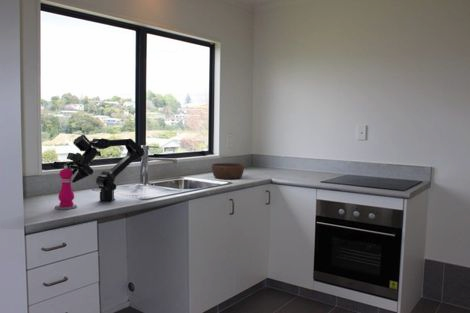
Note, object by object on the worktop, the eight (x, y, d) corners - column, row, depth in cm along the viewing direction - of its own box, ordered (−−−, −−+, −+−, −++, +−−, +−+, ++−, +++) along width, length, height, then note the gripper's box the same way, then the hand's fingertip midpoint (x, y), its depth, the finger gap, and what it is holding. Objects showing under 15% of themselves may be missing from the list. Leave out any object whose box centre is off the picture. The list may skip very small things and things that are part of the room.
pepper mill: (67, 203, 207) (66, 164, 205) (77, 205, 204) (77, 165, 202) (55, 206, 200) (54, 165, 199) (65, 208, 197) (65, 166, 195)
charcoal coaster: (80, 205, 207) (80, 204, 207) (71, 210, 197) (71, 208, 197) (61, 205, 207) (61, 203, 207) (50, 209, 197) (50, 207, 197)
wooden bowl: (206, 176, 322) (206, 163, 321) (235, 175, 332) (235, 162, 331) (219, 181, 299) (219, 167, 298) (249, 179, 310) (249, 165, 309)
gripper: (67, 145, 210) (46, 169, 203) (87, 147, 199) (66, 172, 191) (81, 160, 217) (62, 183, 210) (101, 162, 206) (82, 187, 198)
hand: (67, 181), depth 202 cm, fingers open, 9 cm apart
